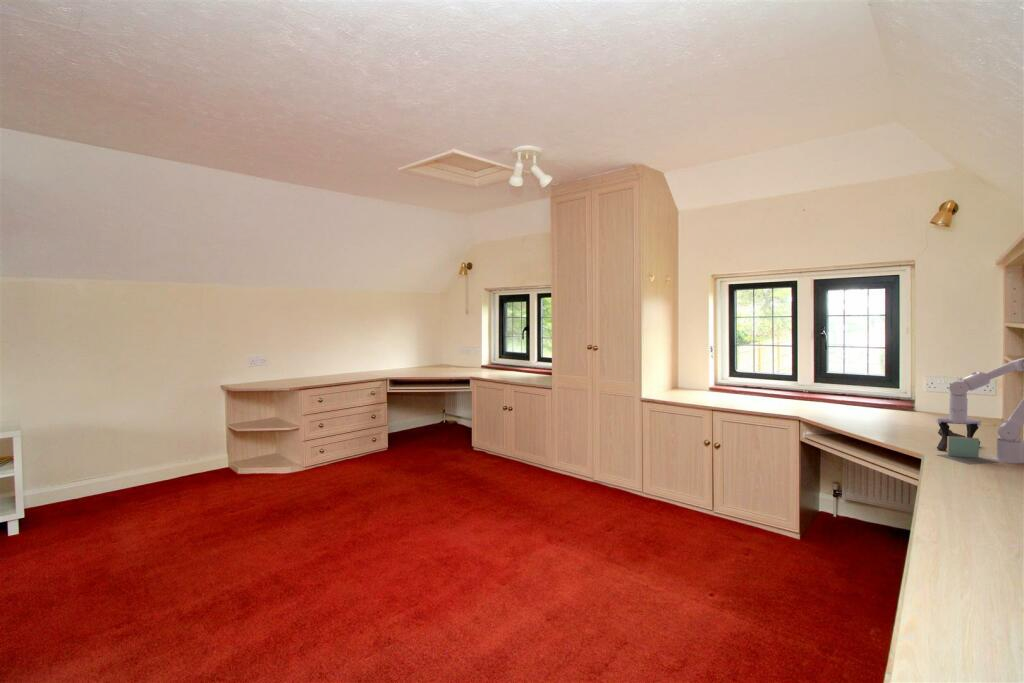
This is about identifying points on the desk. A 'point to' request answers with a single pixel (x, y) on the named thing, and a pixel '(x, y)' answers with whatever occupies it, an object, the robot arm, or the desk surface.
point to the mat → (969, 459)
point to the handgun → (943, 442)
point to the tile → (963, 446)
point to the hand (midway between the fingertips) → (957, 440)
